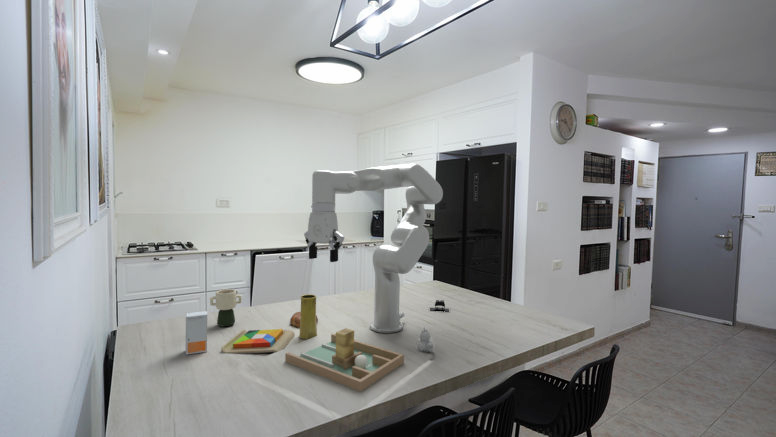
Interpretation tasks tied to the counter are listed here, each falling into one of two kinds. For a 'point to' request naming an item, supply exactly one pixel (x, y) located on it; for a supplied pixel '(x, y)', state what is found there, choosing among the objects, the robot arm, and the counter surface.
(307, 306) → the vase
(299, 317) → the sesame bagel
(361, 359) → the ball
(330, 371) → the pitch
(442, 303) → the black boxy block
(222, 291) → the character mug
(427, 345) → the grey figurine
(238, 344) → the wooden puzzle
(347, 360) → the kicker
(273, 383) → the counter surface
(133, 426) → the counter surface
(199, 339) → the skincare box
